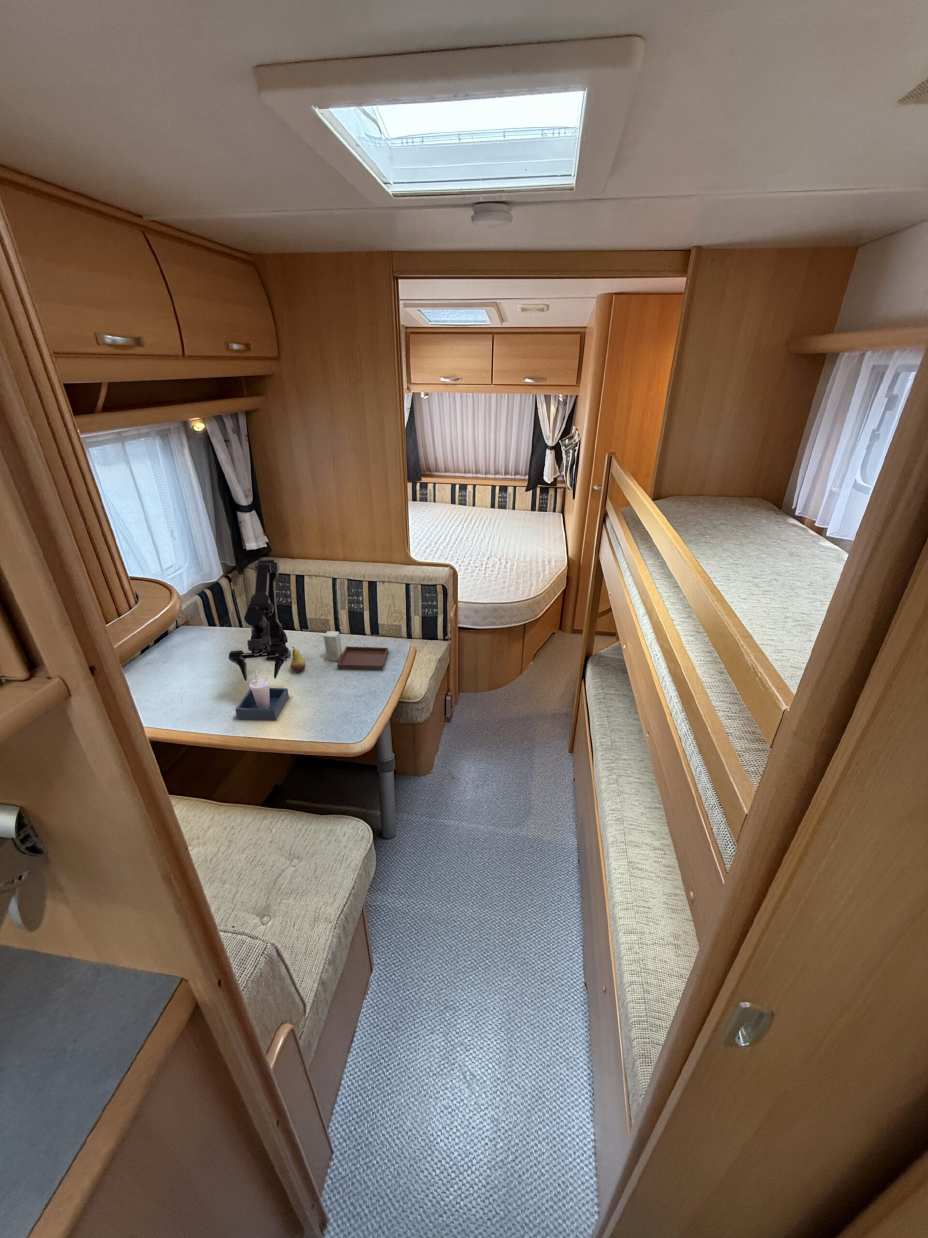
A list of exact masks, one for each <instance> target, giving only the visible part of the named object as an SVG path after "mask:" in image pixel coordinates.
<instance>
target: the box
mask: <svg viewBox="0 0 928 1238" xmlns="http://www.w3.org/2000/svg"><path fill="white" fill-rule="evenodd" d="M340 635H341V634H340V631H331V630H329V631H328V630H327V631H326V632H325V633H324V635H323V641H324V647H325V655H326V660H327V661H333V662H339V660H340V658H341V656H342V654H343V651H342V643H341V636H340Z"/></svg>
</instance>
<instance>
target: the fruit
mask: <svg viewBox="0 0 928 1238" xmlns="http://www.w3.org/2000/svg"><path fill="white" fill-rule="evenodd" d="M291 655H292V656H291V657H292V658H291V661H290V668H291V671H292V672H295V673H300V672H303V671H305V669H306V661H305V659H304V658H303V655H302V654H301V653H300V651H299V650H298V649H296V648H295V647H294V646H292V653H291Z"/></svg>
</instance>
